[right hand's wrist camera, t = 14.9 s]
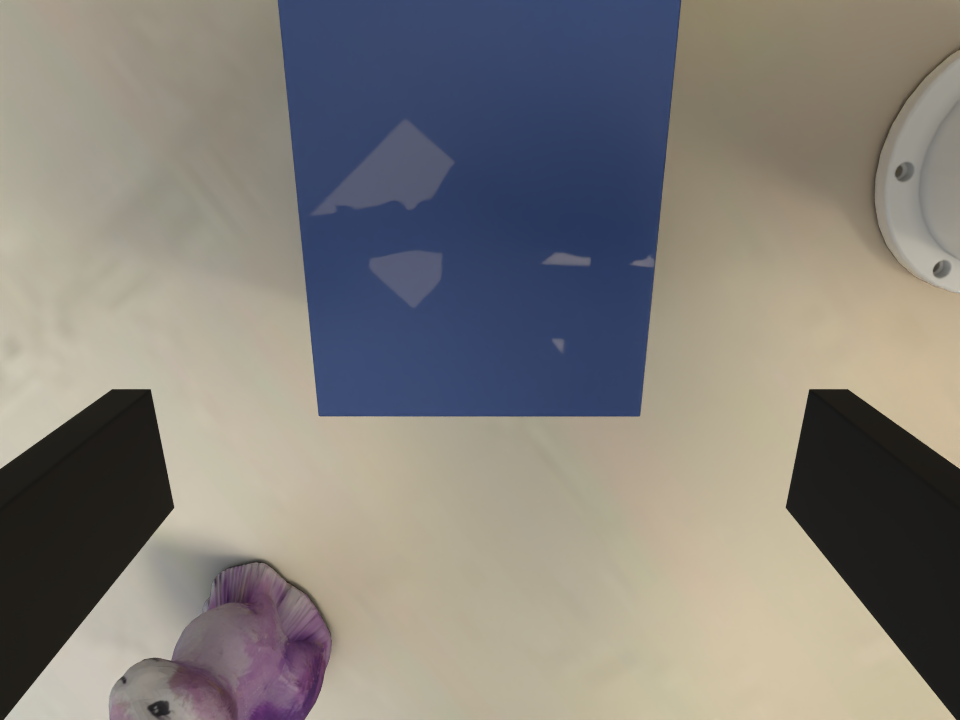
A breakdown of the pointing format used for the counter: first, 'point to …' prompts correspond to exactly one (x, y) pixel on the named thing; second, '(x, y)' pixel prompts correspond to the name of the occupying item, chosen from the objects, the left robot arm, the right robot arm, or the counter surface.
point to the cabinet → (479, 200)
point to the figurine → (235, 657)
